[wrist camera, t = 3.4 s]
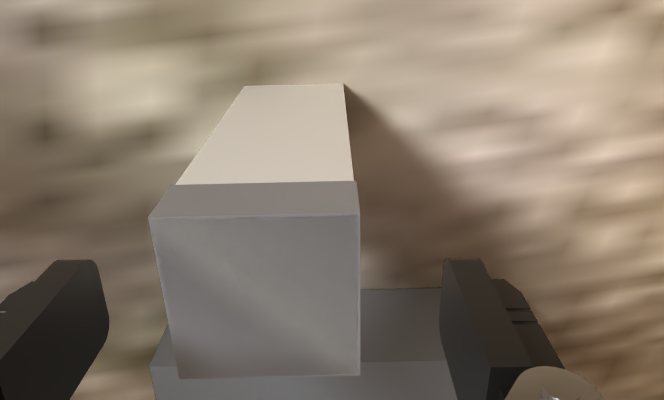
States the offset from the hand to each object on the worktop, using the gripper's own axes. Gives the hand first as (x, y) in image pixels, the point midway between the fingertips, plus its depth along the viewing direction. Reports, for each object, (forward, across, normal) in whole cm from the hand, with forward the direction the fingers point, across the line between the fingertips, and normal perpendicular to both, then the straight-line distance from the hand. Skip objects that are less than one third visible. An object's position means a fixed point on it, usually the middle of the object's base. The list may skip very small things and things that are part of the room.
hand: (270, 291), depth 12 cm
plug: (+11, 0, -1) cm, 11 cm away
